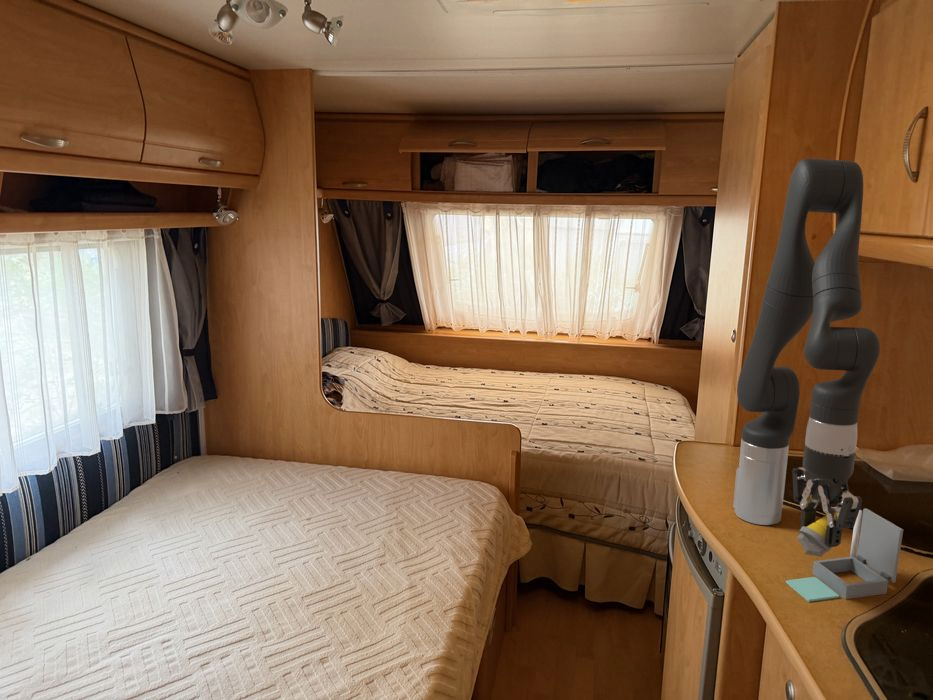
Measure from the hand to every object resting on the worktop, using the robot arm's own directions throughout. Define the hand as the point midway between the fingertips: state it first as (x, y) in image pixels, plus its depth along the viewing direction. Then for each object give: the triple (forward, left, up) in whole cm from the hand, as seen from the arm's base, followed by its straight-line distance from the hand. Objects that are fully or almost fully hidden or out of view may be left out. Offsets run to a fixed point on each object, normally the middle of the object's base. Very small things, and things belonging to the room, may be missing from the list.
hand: (819, 537), depth 114 cm
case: (-2, +9, -10) cm, 14 cm away
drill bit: (-1, 0, -3) cm, 3 cm away
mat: (0, 0, -10) cm, 10 cm away
